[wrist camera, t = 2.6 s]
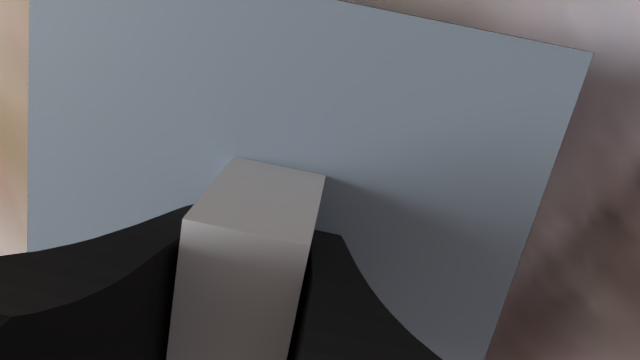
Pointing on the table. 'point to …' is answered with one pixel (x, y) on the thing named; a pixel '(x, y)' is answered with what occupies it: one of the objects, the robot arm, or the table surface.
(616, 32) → the table surface
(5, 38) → the table surface
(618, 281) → the table surface
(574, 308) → the table surface
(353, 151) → the lid
